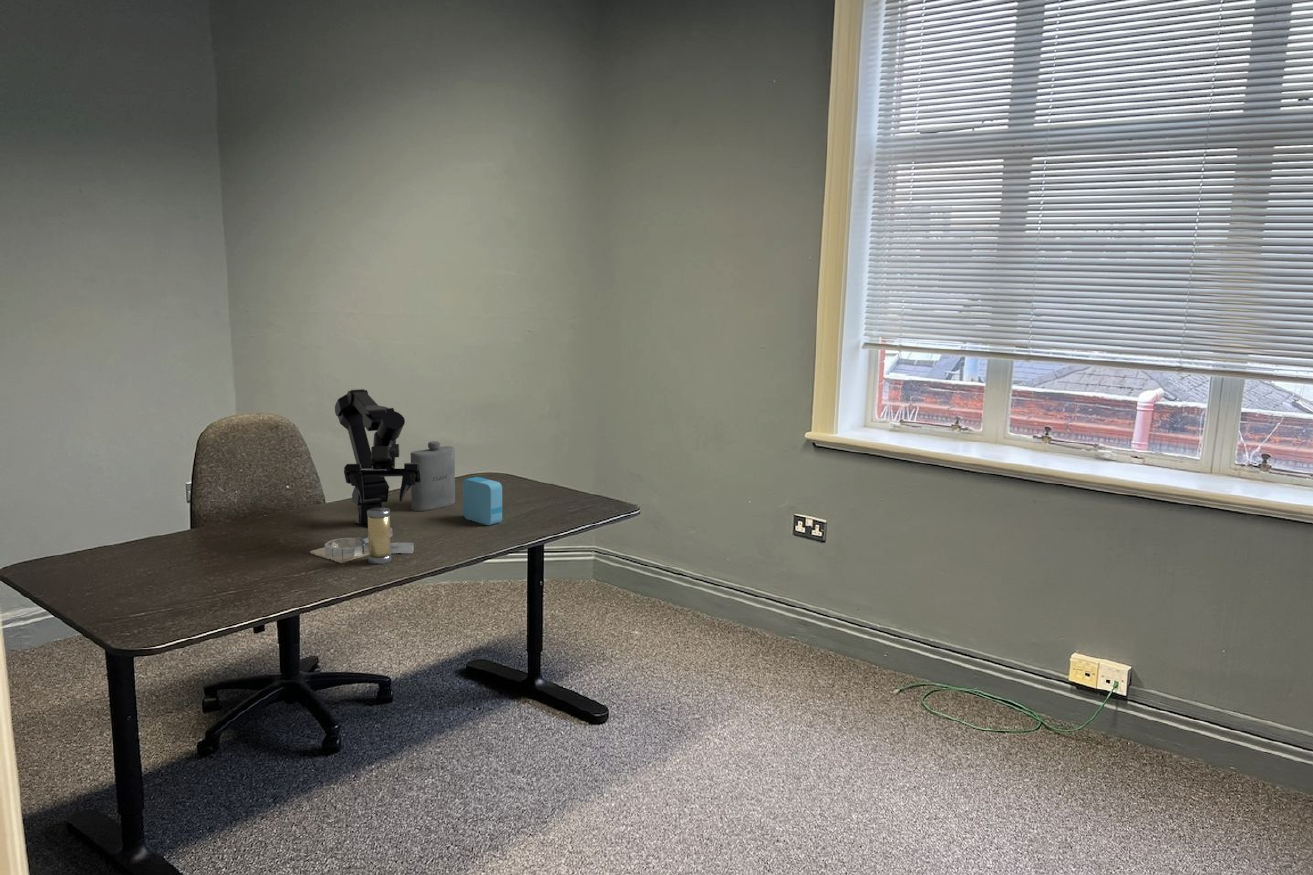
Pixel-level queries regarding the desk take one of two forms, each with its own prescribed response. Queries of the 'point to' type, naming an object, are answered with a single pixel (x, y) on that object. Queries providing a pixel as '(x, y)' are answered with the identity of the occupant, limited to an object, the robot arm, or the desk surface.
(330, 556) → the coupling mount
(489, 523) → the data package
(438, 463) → the flask
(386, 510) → the glass jar
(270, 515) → the desk surface
